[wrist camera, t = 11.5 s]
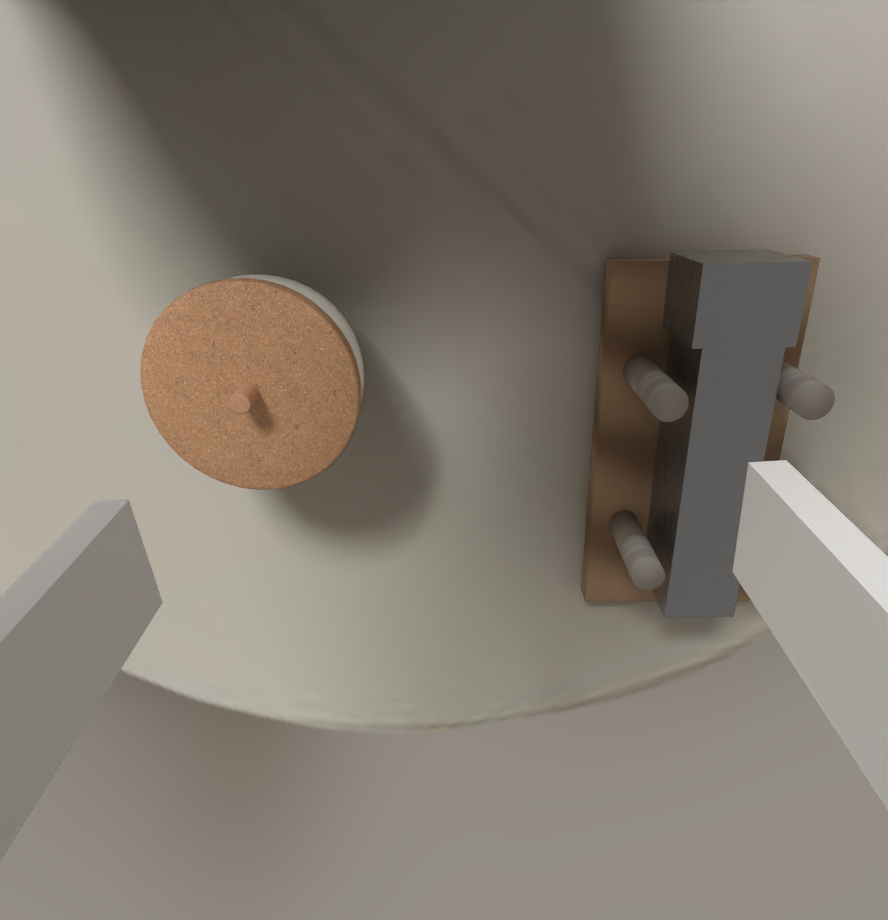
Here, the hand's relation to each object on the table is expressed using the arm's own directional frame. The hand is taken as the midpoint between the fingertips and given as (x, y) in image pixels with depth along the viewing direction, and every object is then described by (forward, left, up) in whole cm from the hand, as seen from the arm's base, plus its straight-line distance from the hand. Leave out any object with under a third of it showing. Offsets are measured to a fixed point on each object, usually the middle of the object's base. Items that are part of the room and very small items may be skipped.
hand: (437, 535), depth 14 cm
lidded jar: (+2, -10, -26) cm, 28 cm away
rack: (+8, +14, -26) cm, 31 cm away
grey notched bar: (+7, +14, -24) cm, 29 cm away
